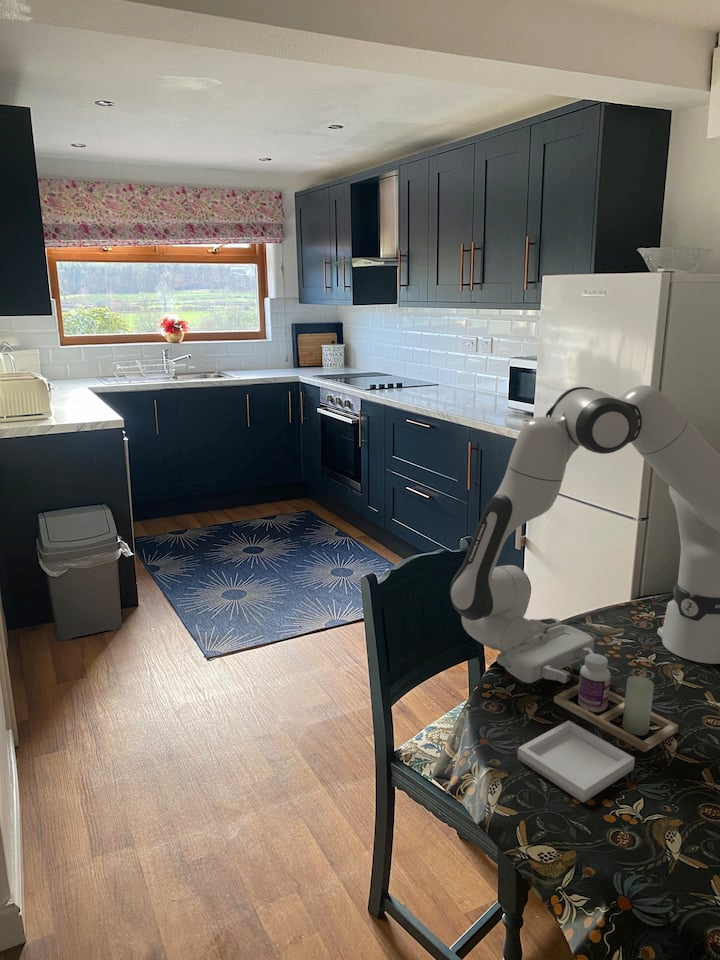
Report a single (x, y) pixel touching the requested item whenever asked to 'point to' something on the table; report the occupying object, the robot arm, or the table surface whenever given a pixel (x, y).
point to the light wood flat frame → (604, 719)
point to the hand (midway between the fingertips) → (583, 670)
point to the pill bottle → (594, 683)
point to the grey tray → (576, 760)
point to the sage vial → (638, 705)
